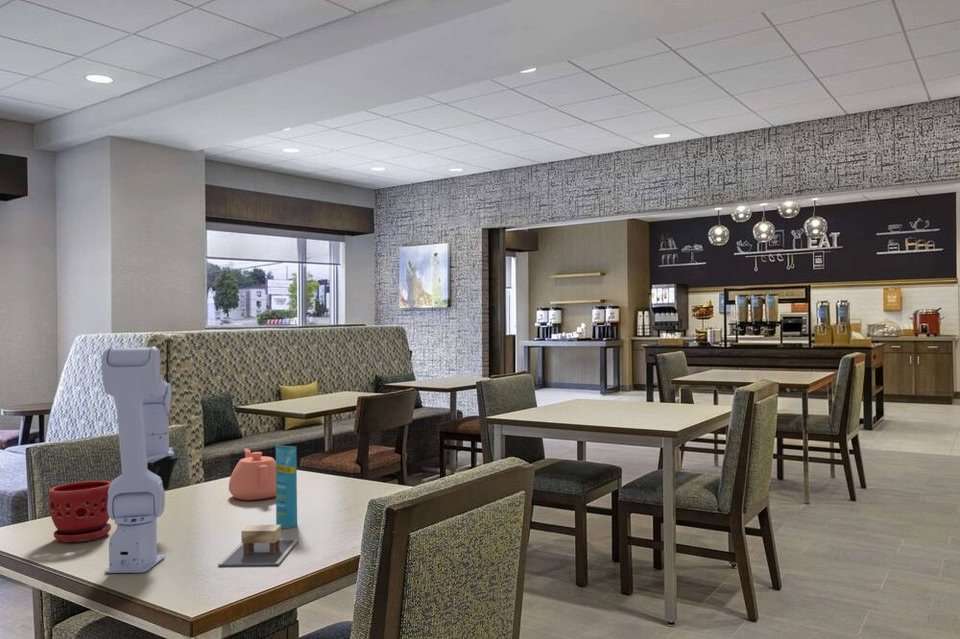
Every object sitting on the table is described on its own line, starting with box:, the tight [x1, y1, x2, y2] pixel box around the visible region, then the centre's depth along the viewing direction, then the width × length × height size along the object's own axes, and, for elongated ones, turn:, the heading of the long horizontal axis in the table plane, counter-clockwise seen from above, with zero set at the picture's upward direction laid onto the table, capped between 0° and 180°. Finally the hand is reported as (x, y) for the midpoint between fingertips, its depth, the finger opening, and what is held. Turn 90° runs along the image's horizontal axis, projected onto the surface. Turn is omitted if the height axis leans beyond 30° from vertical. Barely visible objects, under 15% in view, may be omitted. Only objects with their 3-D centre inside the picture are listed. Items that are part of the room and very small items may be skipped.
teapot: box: [228, 447, 276, 501], centre depth 207 cm, size 22×15×12 cm
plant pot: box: [48, 480, 112, 543], centre depth 168 cm, size 13×13×12 cm
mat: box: [217, 539, 299, 568], centre depth 154 cm, size 16×12×1 cm
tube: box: [275, 444, 298, 529], centre depth 175 cm, size 7×5×19 cm, turn 60°
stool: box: [240, 524, 282, 555], centre depth 154 cm, size 7×4×5 cm, turn 90°
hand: (156, 492), depth 168 cm, fingers open, 7 cm apart
